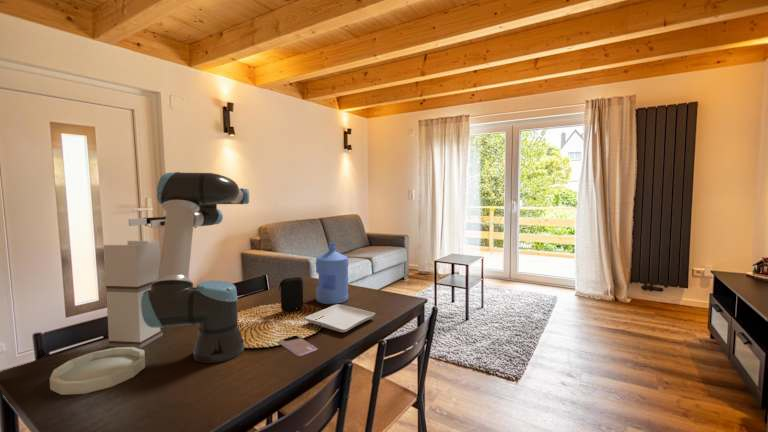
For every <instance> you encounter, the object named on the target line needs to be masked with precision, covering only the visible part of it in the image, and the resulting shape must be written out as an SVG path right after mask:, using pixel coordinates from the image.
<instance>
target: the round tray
mask: <svg viewBox="0 0 768 432" xmlns="http://www.w3.org/2000/svg"><path fill="white" fill-rule="evenodd" d="M145 353H146V351H145V349H142V348H135V347H109V348H107V349H106V348H105V349H102V350H97V351H96V350H95V351H91V352H89V353H86V354H83V355H80V356H77V357H75V358H71V359H70V360H68V361H66V362H64V363H62V364H61V365H59V366H58V367H56V368H54V369H53V371H52V373H51V374H50V377H49V389H50V390H51V391H53V392H55V393H57V394H58V395H61V396H62V395H63V396H64V395H67V396H68V395H83V394H84V395H85V394H88V393H92V392H97V391H100V390H105V389H108V388H113V387H115V386H116V385H117V386H118V385H119V384H121V383H123V382H125V381H128V380H130V379H132V378H134V377H135V376H137V374H139V372H141V371H142V370H144V369H145V368H146V356H145Z"/></svg>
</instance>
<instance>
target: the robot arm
mask: <svg viewBox="0 0 768 432" xmlns="http://www.w3.org/2000/svg"><path fill="white" fill-rule="evenodd" d="M156 198H157V202H158V203H159V204H160V205H161V207H162V209H163V210H164V211H165V212H166V213H165V215H164V216H153V217H145V216H144V217H140V218H128V226H129V227H133V226H144V227H145V226H147V225H150V228H153V229H154V228H162V227H163V228H164V229H163V236H162V243H161V251H160V267H159V275H158V279H157V280H155V281H154V282H153V283H152V285H151V290H147V291H145V292H144V293H143V296H142V299H141V310H142V316H143V319H144V321H145V323H146V324H147V325H148V326H149V327H152V328H159V327H160V328H164V329H166V328H167V327H168V328H169V327H181V326H192V325H198V334H197V338H196V341H195V345H194V347H193V353H192V354H193V355H192V356H193V359H194V360H195V361H196V362H198V363H201V364H214V363H215V364H217V363H221V362H225V361H228V360H232V359H234V358H237V357H238V356H239V355H241V354H242V353H243V352H244V350H245V341H244V339H243V336H242V334H241V331H240V329H239V323H238V321H239V320H238V300H239V297H238V293H237V287H236V285H235V284H233V283H231V282H229V281H225V280H208V281H207V280H205V281H201V282H198V284H197V285H196V287H194V282H193V281H192V280H191V279H190V278H189V277H190V276H189V275H190V265H191V255H192V254H191V253H192V245H193V244H192V243H193V231H194V229H197V227H206V226H214V225H218V224H220V223H222V221H223V218H224V217H223V213H222V211H221V210H220V209H218V206H217V205H248V204H249V203H250V190H249V188H243V187H241V188H239V186H238V184H237V182H236V181H234V180H232V178H229V177H227V176H224V175H221V174H218V173H212V172H180V171H175V172H165V173H164V174H162V175H161V176H160V178H159V180H158V183H157V186H156Z"/></svg>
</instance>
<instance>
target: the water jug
mask: <svg viewBox="0 0 768 432" xmlns="http://www.w3.org/2000/svg"><path fill="white" fill-rule="evenodd" d="M315 268H316V269H315V272H316V274H317V275H318V283H317V285H316V289H315V291H316V295H315V299H316V301H317V302H318V303H320V304H324V305H336V304H342V303H344V302H346V301H348V300H349V257H348V256H347V255H344V254H343V253H340V252H338V251H336V243H335V242H328V251H326V252H325V253H323V254H320V255H319V256H317V257H316V258H315Z"/></svg>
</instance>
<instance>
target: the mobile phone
mask: <svg viewBox="0 0 768 432" xmlns="http://www.w3.org/2000/svg"><path fill="white" fill-rule="evenodd" d="M277 342H278V344H279V345H281V346H282V347H283V348H284V349H287V350H288V351H290V352H291V353H292V354H294V355H295V356H297V357H302V356H305V355H308V354H310V353H314V352H316V351H317V350H318V347H316V346H315V345H313V343H310V342H308V341H307V340H305V339H303V338H302V337H300V336H299V335H292V336H289V337H285V338H283V339H280V340H278V341H277Z"/></svg>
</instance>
